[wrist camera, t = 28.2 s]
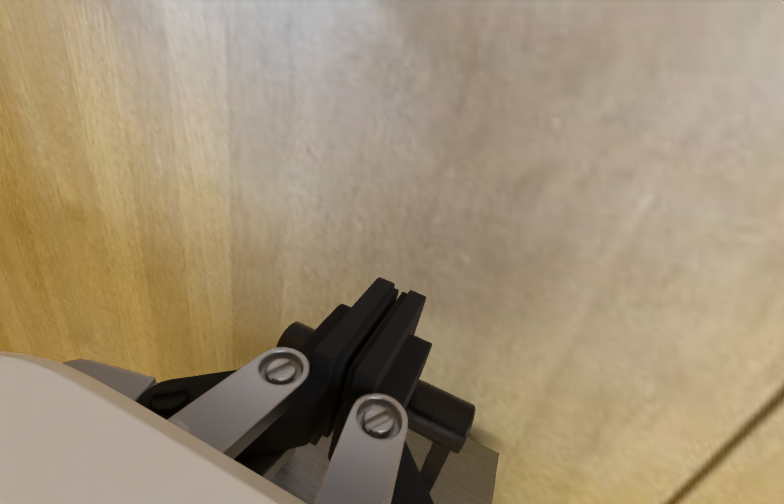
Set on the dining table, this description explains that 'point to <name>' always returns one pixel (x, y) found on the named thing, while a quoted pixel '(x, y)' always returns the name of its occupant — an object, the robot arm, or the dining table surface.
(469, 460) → the drawer
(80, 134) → the dining table surface
